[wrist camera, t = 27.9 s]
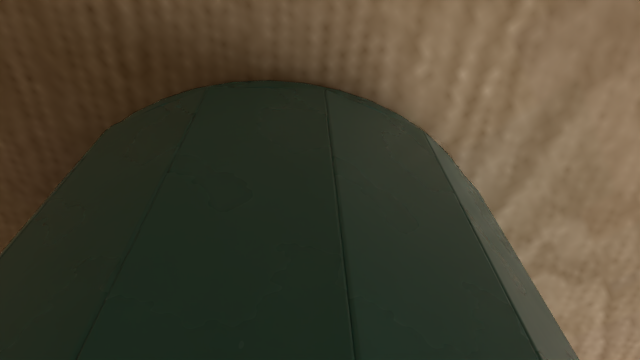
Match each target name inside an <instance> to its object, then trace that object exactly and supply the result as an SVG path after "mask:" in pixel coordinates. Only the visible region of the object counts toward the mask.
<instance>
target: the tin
mask: <svg viewBox="0 0 640 360" xmlns="http://www.w3.org/2000/svg"><path fill="white" fill-rule="evenodd" d="M0 360H579V359H578V357H577V355H576V354H575V352H574V350H573V349H572V347H571V345H570V344H569V342H568V340H567V339H566V337H565V335H564V334H563V332H562V330H561V329H560V327H559V325H558V324H557V322H556V320H555V319H554V317H553V315H552V314H551V312H550V310H549V309H548V307H547V305H546V304H545V302H544V300H543V299H542V297H541V295H540V294H539V292H538V290H537V289H536V287H535V285H534V284H533V282H532V280H531V278H530V277H529V275H528V273H527V272H526V270H525V268H524V267H523V265H522V263H521V262H520V260H519V258H518V257H517V255H516V253H515V252H514V250H513V248H512V247H511V245H510V243H509V242H508V240H507V238H506V237H505V235H504V233H503V232H502V230H501V228H500V227H499V225H498V223H497V222H496V220H495V218H494V217H493V215H492V213H491V212H490V210H489V208H488V207H487V205H486V203H485V202H484V200H483V198H482V197H481V195H480V193H479V192H478V190H477V189H476V188H475V187H474V186H473V185H472V183H471V182H470V181H469V180H468V179H467V178H466V177H465V176H464V175H463V173H462V172H461V170H460V169H459V168H458V166H457V165H456V164H455V163H454V161H453V160H452V159H451V157H450V156H449V155H448V153H447V152H446V151H445V150H444V149H442V148H441V147H440V146H439V145H438V144H437V143H436V142H435V141H434V140H433V139H432V138H431V137H430V136H429V135H428V134H427V133H425V132H424V131H422V130H421V129H420V128H418V127H416V126H415V125H414V124H412V123H411V122H409V121H408V120H406V119H405V118H403V117H402V116H400V115H398V114H396V113H394V112H392V111H390V110H388V109H386V108H384V107H382V106H380V105H378V104H376V103H374V102H372V101H369V100H366V99H363V98H360V97H357V96H355V95H352V94H349V93H346V92H343V91H340V90H335V89H330V88H325V87H321V86H316V85H311V84H306V83H295V82H282V81H269V80H267V81H246V82H230V83H224V84H219V85H213V86H207V87H202V88H196V89H193V90H190V91H187V92H184V93H180V94H177V95H174V96H171V97H168V98H165V99H162V100H160V101H158V102H156V103H154V104H152V105H150V106H148V107H146V108H144V109H142V110H139V111H137V112H135V113H133V114H132V115H130V116H129V117H128V118H126V119H125V120H123V121H122V122H120V123H117V124H115V125H112V126H111V127H110V128H109V129H107V130H106V131H105V132H104V133H103V134H102V135H101V136H100V138H99V139H98V140H97V141H96V142H95V143H94V145H93V146H92V147H91V148H90V149H89V150H88V151H87V152H86V154H85V155H84V156H83V157H82V158H81V160H80V161H79V162H78V163H77V164H76V165H75V167H74V168H73V169H72V170H71V171H70V172H69V173H68V175H67V176H66V177H65V178H64V179H63V180H62V182H61V183H60V184H59V185H58V186H57V187H56V188H55V190H54V191H53V192H52V193H51V194H50V196H49V197H48V198H47V199H46V200H45V201H44V203H43V204H42V205H41V206H40V207H39V209H38V210H37V211H36V212H35V213H34V214H33V216H32V217H31V218H30V219H29V220H28V222H27V223H26V224H25V225H24V226H23V228H22V229H21V230H20V231H19V232H18V233H17V235H16V236H15V237H14V238H13V239H12V241H11V242H10V243H9V244H8V245H7V246H6V248H5V249H4V250H3V251H2V252H1V254H0Z"/></svg>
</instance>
